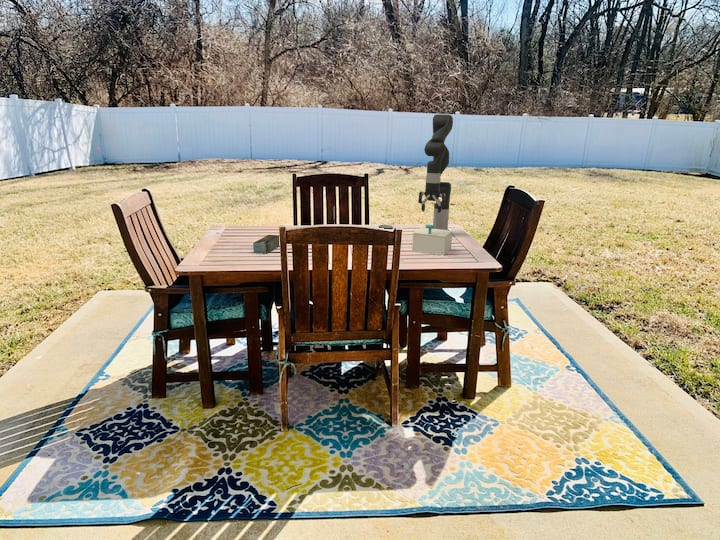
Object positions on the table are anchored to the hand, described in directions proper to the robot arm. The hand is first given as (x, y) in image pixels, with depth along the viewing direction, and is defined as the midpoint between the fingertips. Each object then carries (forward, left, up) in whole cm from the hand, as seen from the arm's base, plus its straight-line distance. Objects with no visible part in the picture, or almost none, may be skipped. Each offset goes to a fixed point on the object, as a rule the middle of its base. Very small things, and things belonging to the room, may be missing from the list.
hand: (431, 212), depth 269 cm
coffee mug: (-9, -28, -23) cm, 37 cm away
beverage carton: (+34, -82, -23) cm, 92 cm away
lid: (-6, 0, -13) cm, 14 cm away
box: (-6, 0, -23) cm, 23 cm away
